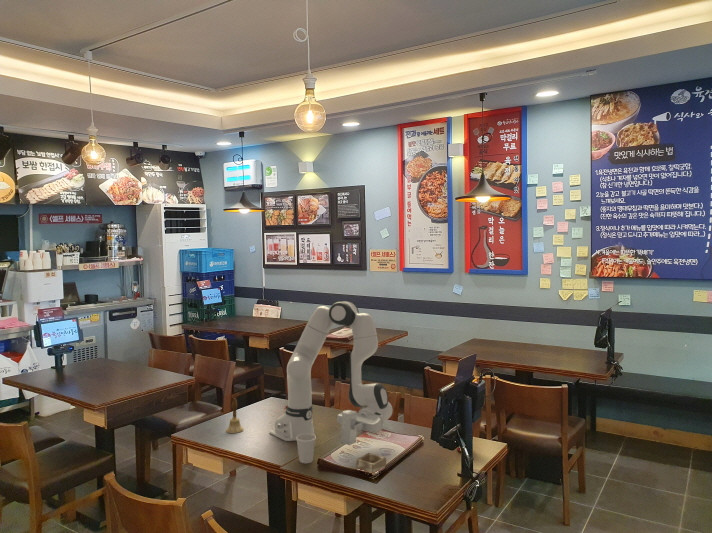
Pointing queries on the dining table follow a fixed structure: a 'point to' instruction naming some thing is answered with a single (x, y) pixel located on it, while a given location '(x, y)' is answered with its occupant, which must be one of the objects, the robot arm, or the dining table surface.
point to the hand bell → (234, 420)
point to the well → (371, 463)
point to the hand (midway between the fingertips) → (347, 426)
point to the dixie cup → (306, 447)
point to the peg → (348, 427)
